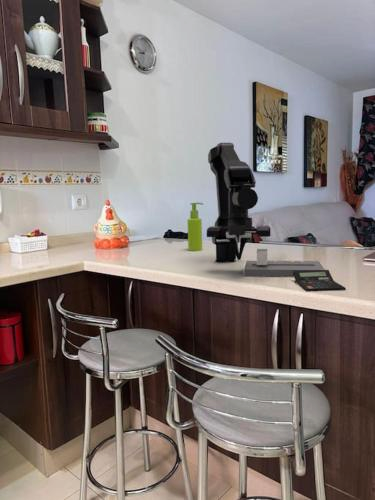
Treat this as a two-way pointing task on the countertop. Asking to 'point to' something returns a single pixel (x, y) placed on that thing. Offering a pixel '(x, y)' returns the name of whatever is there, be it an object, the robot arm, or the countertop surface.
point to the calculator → (316, 280)
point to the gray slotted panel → (280, 268)
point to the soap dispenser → (194, 230)
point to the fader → (261, 256)
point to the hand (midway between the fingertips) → (239, 259)
